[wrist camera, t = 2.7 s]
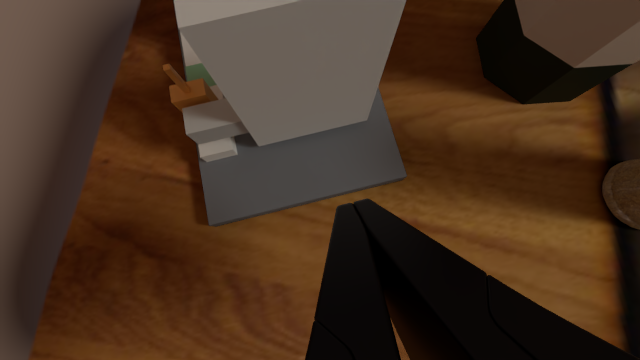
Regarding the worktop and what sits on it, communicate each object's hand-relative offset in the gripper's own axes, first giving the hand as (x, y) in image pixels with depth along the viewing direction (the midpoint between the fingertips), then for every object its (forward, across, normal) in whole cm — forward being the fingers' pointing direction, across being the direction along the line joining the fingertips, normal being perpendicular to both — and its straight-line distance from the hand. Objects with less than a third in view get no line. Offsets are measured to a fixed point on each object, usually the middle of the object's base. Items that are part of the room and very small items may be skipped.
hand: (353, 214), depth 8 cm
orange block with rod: (+12, +6, 0) cm, 14 cm away
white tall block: (+12, +2, +2) cm, 12 cm away
